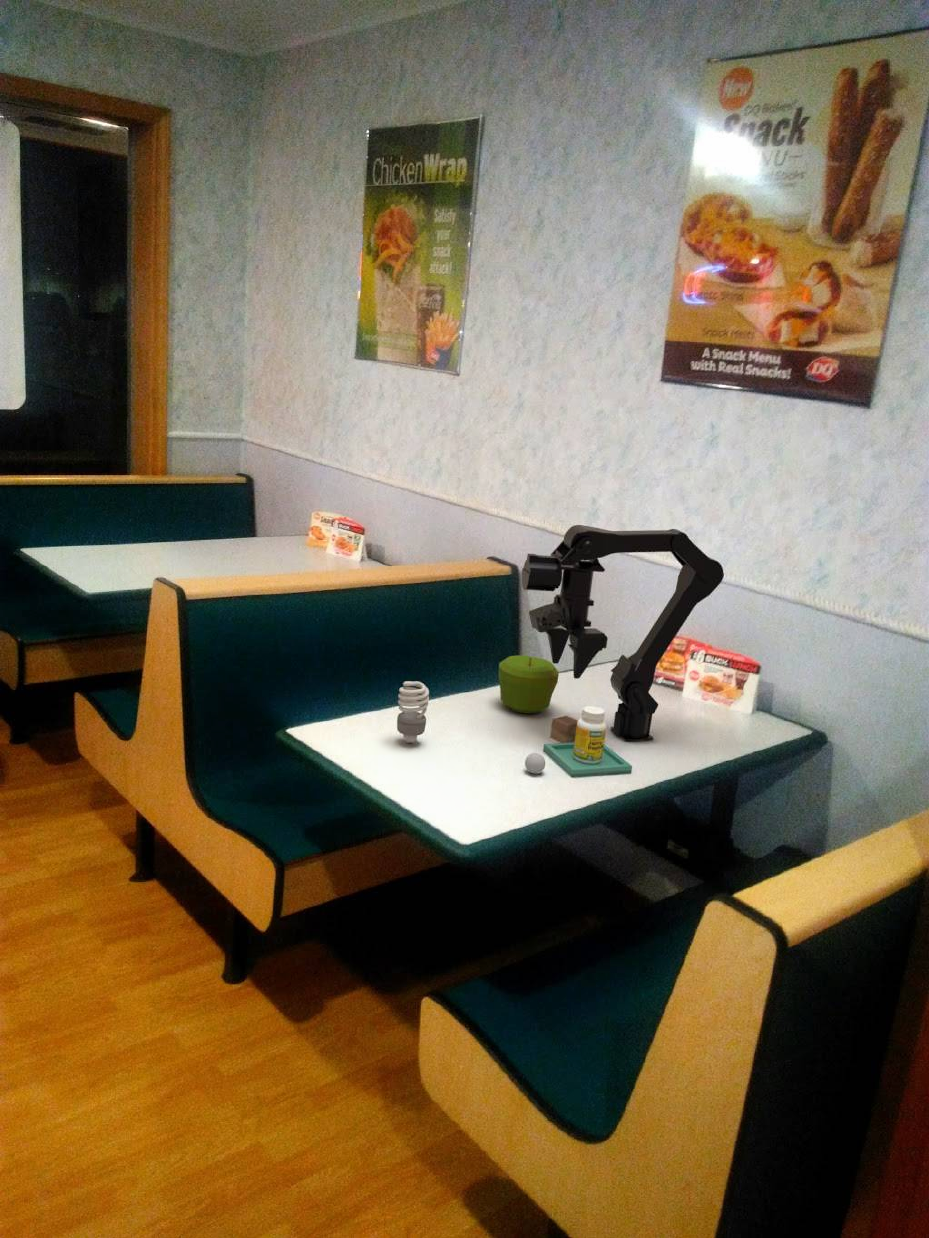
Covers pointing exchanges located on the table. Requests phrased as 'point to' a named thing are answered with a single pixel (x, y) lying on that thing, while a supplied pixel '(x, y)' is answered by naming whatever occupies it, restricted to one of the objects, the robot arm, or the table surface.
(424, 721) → the light bulb
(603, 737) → the supplement bottle
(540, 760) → the grey ball
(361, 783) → the table surface
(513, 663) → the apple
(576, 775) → the tray
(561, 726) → the walnut cube
